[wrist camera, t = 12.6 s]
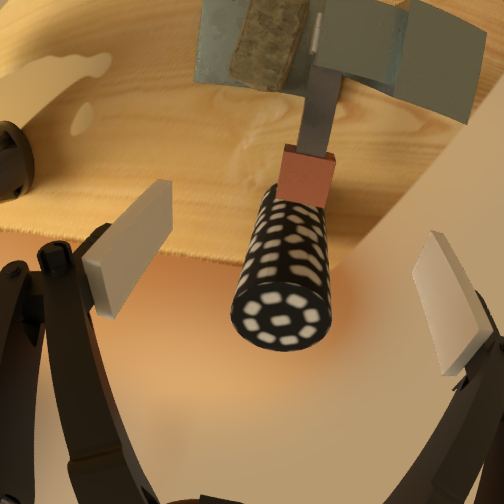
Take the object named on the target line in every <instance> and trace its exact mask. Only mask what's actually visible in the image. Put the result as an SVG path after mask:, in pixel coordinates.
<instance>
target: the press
mask: <svg viewBox="0 0 504 504" xmlns="http://www.w3.org/2000/svg"><path fill="white" fill-rule="evenodd" d="M249 3H250V0H203V7H202V14H201V21H200V29H199V37H198V46H197V55H196V64H195V75H194V82H196V83H209V84H220V85H230V86H239V87H247V88H251V87H249V86H247V85H246V84H244V83H242V82H239V81H237V80H234V79H232V78H231V77H229V76H228V73H229V72H228V70H229V66H230V63H231V58H232V55H233V51H234V49H235V46H236V44H237V41H238V38H239V34H240V31H241V28H242V25H243V21H244V18H245V15H246V12H247V9H248V6H249ZM318 13H322V17H321V23H320V29H319V35H318V41H317V47H316V53H315V58H314V64H313V65H315V66H320V67H324V68H329V69H333V70H337V71H342V72H343V74H342V76H345V77H347V78H350V79H352V80H355V81H357V82H360V83H362V84H365V85H367V86H369V87H372V88H374V89H376V90H378V91H381V92H383V93H385V94H387V95H389V96H391V97H394V98H397V99H400V100H403V101H406V102H409V103H412V104H415V105H418V106H421V107H423V108H426V109H429V110H431V111H434V112H437V113H439V114H442V115H444V116H447V117H449V118H452V119H454V120H456V121H459V122H461V123H463V124H466V125H467V123H468V120H469V116H470V112H471V109H472V105H473V101H474V97H475V92H476V88H477V84H478V79H479V74H480V70H481V65H482V59H483V54H484V48H485V41H486V35H487V32H485V31H483V30H481V29H479V28H478V27H476V26H474V25H472V24H470V23H468V22H466V21H464V20H462V19H460V18H458V17H456V16H454V15H452V14H450V13H448V12H445V11H443V10H441V9H439V8H436V7H434V6H432V5H429V4H427V3H424V2H422V1H419V0H405V1H403V2H401V3H399V4H397V5H395V6H392V5H389V4H386V3H382V2H379V1H376V0H310V7H309V11H308V15H307V19H306V23H305V26H304V29H303V33H302V37H301V40H300V43H299V46H298V48H297V51H296V53H295V56H294V58H293V61H292V64H291V68H290V71H289V74H288V77H287V81H286V84H285V87H284V90H282V91H280V93H286V94H292V95H297V96H303V97H306V91H307V85H308V80H309V74H310V68H311V63H312V57H313V55H309V50H310V44H311V38H312V32H313V27H314V24H315V21H316V18H317V15H318Z"/></svg>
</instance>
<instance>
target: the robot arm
mask: <svg viewBox="0 0 504 504" xmlns="http://www.w3.org/2000/svg"><path fill="white" fill-rule="evenodd" d="M33 176H34V163H33V156H32V152H31V149H30V146H29V143H28V141H27V139H26V137H25V135H24V134H23V132H22V131H21V130H20V129H19V128H18V127H17V126H16V125H15V124H13V123H12V122H9V121H0V204H1V203H5V202H9V201H13V200H16V199H18V198H19V197H20V196H22V195H23V194H25V193H26V192H27V191H28V190H29V188H30V186H31V184H32V181H33ZM172 230H173V221H172V181H168V180H160V179H157V180H156V181H155V182H154V183H153V184H152V185H151V186H150V187H149V188H148V189H147V190H146V191H145V192H144V193H143V194H142V195H141V196H140V197H139V198H138V199H137V200H136V201H135V202H134V203H133V204H132V205H131V206H130V207H129V208H128V209H127V210H126V211H125V212H124V213H123V214H122V215H121V216H120V217H119V218H118V219H117V220H116V221H115V222H114V223H113V224H110V223H105V224H104V225H102V226H100V227H98V228H96V229H95V230H94V231H93V232H92V234H91V235H90V237H88V238H87V239H86V240H85V242H83V243H82V244H81V245H80V246H79V247H78V248H77V249H76V250H75V251H74V253H73V254H72V250H71V246H70V244H69V243H67V242H66V241H60V240H59V241H53V242H50V243H47V244H46V245H44V246H43V247H41V248H40V250H39V251H38V253H37V258H38V261H39V264H40V268H41V271H29V268H28V265H27V263H26V262H24V261H20V260H17V261H13V262H10V263H8V264H7V265H6V266H5V267H3V268H2V270H1V271H0V504H34V501H35V478H34V423H35V421H34V420H35V406H36V393H37V383H38V375H39V366H40V359H41V352H42V345H43V339H44V334H45V328H46V337H47V346H48V354H49V362H50V369H51V374H52V381H53V387H54V392H55V398H56V402H57V407H58V412H59V416H60V421H61V425H62V429H63V433H64V436H65V441H66V444H67V448H68V451H69V456H70V461H69V462H68V464H67V468H68V473H69V478H70V481H71V484H72V487H73V489H74V492H75V495H76V498H77V501H78V503H79V504H160V502H159V500H158V498H157V497H156V495H155V493H154V491H153V489H152V487H151V485H150V483H149V481H148V480H147V478H146V476H145V474H144V473H143V470H142V469H141V466H140V464H139V462H138V460H137V457H136V455H135V452H134V450H133V448H132V445H131V443H130V440H129V438H128V435H127V433H126V430H125V428H124V425H123V422H122V420H121V417H120V414H119V411H118V409H117V406H116V403H115V400H114V397H113V394H112V391H111V388H110V385H109V382H108V378H107V375H106V372H105V369H104V365H103V362H102V358H101V355H100V351H99V347H98V343H97V340H96V336H95V332H94V328H93V323H92V319H91V316H90V313H89V311H90V310H91V308H92V307H93V305H95V308H96V312H97V315H99V316H103V317H106V318H109V319H113V320H114V319H115V317H116V316H117V314H118V312H119V311H120V309H121V308H122V306H123V304H124V303H125V301H126V299H127V298H128V296H129V295H130V293H131V292H132V290H133V288H134V287H135V285H136V283H137V282H138V281H139V279H140V277H141V276H142V274H143V273H144V271H145V270H146V268H147V267H148V265H149V264H150V262H151V261H152V259H153V258H154V256H155V255H156V253H157V252H158V250H159V249H160V247H161V246H162V244H163V243H164V241H165V240H166V238H167V237H168V235H169V234H170V233H171V231H172ZM411 274H412V276H413V279H414V282H415V285H416V288H417V291H418V294H419V296H420V300H421V303H422V306H423V309H424V312H425V315H426V318H427V321H428V325H429V328H430V331H431V335H432V338H433V342H434V345H435V349H436V353H437V357H438V360H439V364H440V368H441V372H442V376H457V375H458V373H460V371H461V370H462V369H463V368H464V367H465V370H466V375H465V376H464V377H463V379H462V380H461V381H460V382H459V383H458V384H457V385H456V386H455V387H454V388H453V389H452V391H455V390H456V389H457V390H456V392H455V394H454V396H453V398H452V400H451V402H450V404H449V406H448V408H447V409H446V411H445V413H444V415H443V417H442V419H441V420H440V422H439V424H438V425H437V427H436V429H435V431H434V432H433V434H432V435H431V437H430V439H429V440H428V442H427V444H426V445H425V447H424V448H423V450H422V451H421V453H420V455H419V456H418V457H417V459H416V460H415V462H414V463H413V465H412V466H411V468H410V469H409V471H408V472H407V473H406V475H405V476H404V477H403V479H402V480H401V482H400V483H399V485H397V487H396V488H395V490H394V491H393V492H392V493H391V495H390V496H389V497H388V498H387V500H386V501H385V502H384V503H383V504H464V502H465V500H466V498H467V496H468V494H469V492H470V490H471V488H472V486H473V484H474V482H475V480H476V478H477V476H478V474H479V472H480V470H481V467H482V465H483V463H484V466H483V470H482V475H481V479H480V482H479V486H478V490H477V494H476V497H475V501H474V504H504V337H503V336H500V334H499V331H498V329H497V327H496V325H495V322H494V320H493V318H492V316H491V315H490V312H489V309H488V308H487V305H486V303H485V301H484V299H483V298H482V297H481V295H480V294H479V293H478V292H477V291H476V290H474V288H473V286H472V284H471V282H470V280H469V278H468V277H467V275H466V273H465V271H464V269H463V267H462V266H461V264H460V262H459V260H458V258H457V256H456V255H455V253H454V251H453V250H452V248H451V246H450V244H449V243H448V241H447V239H446V238H445V236H444V235H443V233H439V232H435V231H430V234H429V236H428V239H427V241H426V243H425V245H424V247H423V250H422V252H421V254H420V256H419V258H418V261H417V263H416V265H415V267H414V269H413V271H412V273H411ZM167 504H243V503H241V502H235V501H229V500H225V499H219V498H215V497H210V496H205V495H200V499H189V500H179V501H174V502H171V503H167Z"/></svg>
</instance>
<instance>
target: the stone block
mask: <svg viewBox="0 0 504 504" xmlns="http://www.w3.org/2000/svg"><path fill="white" fill-rule="evenodd" d="M309 7H310V0H250V3H249V6H248V9H247V12H246V15H245V18H244V21H243V25H242V28H241V31H240V34H239V38H238V41H237V44H236V46H235V49H234V51H233V55H232V58H231V63H230V66H229V70H228V72H229V73H228V76H229V77H231V78H232V79H234V80H237V81H239V82H242V83H244V84H246V85H247V86H249V87H251V88H253V89H255V90H259V91H266V92H280V91H282V90H284V87H285V84H286V81H287V77H288V74H289V71H290V68H291V64H292V61H293V58H294V56H295V53H296V51H297V48H298V46H299V43H300V40H301V37H302V33H303V29H304V26H305V23H306V19H307V15H308V11H309Z"/></svg>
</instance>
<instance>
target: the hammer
mask: <svg viewBox="0 0 504 504" xmlns="http://www.w3.org/2000/svg"><path fill="white" fill-rule="evenodd" d="M321 17H322V13H318V15H317V18H316V21H315V24H314V27H313V32H312V38H311V44H310V50H309V55H313V57H312V63H311V68H310V74H309V80H308V85H307V91H306V97H305V102H304V108H303V113H302V118H301V124H300V129H299V135H298V140H297V145H296V146H295V145H290V144H285V148H284V153H283V159H282V164H281V170H280V175H279V181H278V187H277V192H276V199H281V200H286V201H291V202H296V203H301V204H306V205H311V206H316V207H321V208H325V204H326V200H327V197H328V193H329V189H330V185H331V181H332V177H333V173H334V169H335V165H336V160H335V156H334V154H333V153H329V152H326V150H327V146H328V141H329V137H330V132H331V128H332V123H333V118H334V114H335V109H336V104H337V99H338V94H339V89H340V84H341V79H342V74H343V72H342V71H337V70H333V69H329V68H324V67H320V66H315V65H313V64H314V58H315V53H316V47H317V41H318V35H319V29H320V23H321Z"/></svg>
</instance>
